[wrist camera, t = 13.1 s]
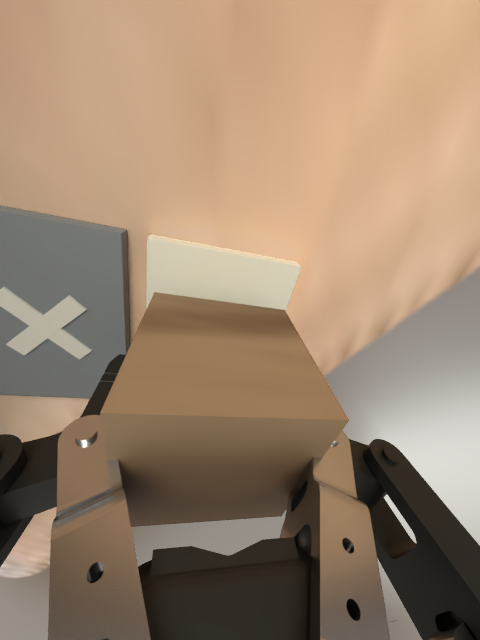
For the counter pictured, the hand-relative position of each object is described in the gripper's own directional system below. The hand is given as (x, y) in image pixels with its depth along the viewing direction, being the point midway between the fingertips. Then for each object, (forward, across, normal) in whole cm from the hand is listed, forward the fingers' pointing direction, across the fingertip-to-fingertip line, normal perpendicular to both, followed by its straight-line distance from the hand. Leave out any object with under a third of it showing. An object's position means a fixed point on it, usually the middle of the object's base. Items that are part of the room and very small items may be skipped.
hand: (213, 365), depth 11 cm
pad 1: (+3, +8, 0) cm, 8 cm away
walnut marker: (+1, 0, 0) cm, 1 cm away
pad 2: (+3, 0, 0) cm, 3 cm away
